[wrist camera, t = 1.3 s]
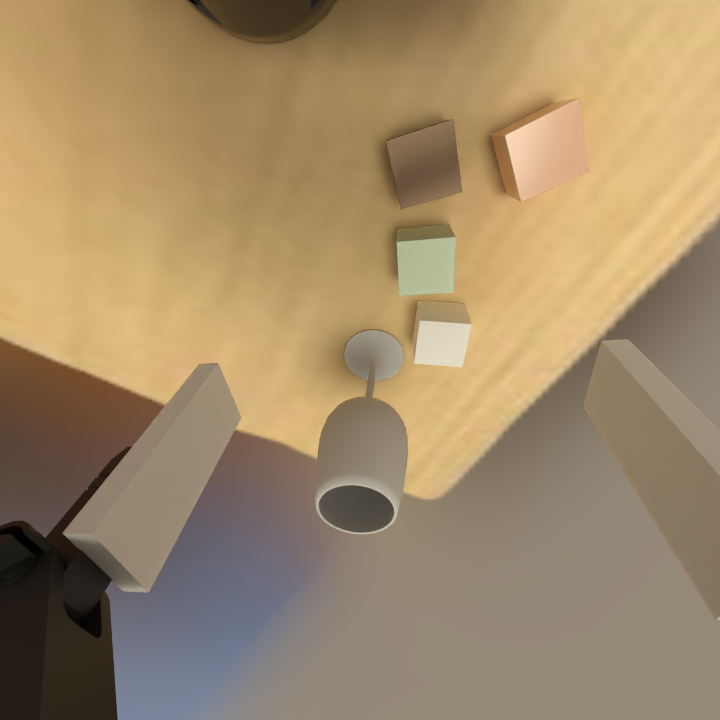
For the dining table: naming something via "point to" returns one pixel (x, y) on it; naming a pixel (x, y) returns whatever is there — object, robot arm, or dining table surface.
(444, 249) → the sage cube
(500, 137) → the terracotta cube
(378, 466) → the wineglass
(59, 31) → the dining table surface
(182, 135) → the dining table surface
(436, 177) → the walnut cube
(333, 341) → the dining table surface
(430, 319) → the white cube
